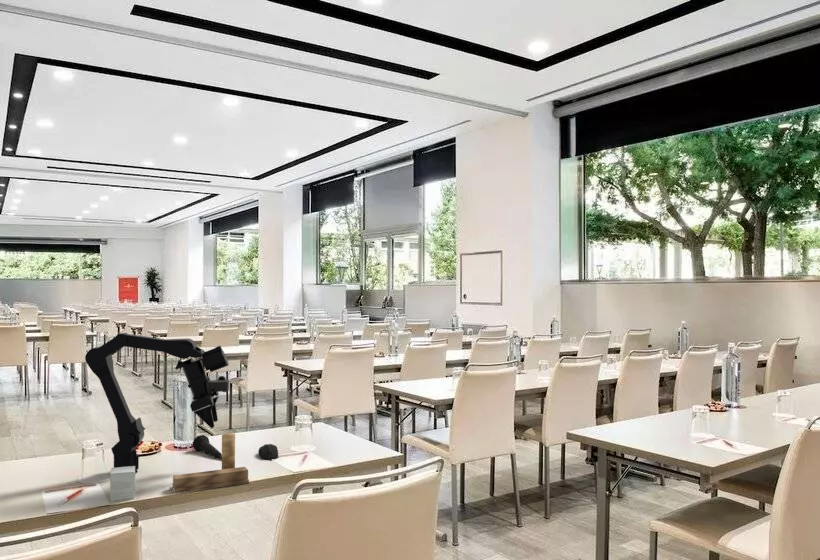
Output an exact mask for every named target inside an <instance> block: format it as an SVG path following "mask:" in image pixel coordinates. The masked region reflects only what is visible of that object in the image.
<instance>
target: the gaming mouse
mask: <svg viewBox="0 0 820 560" xmlns="http://www.w3.org/2000/svg"><path fill="white" fill-rule="evenodd" d="M257 454H258V456H259V458H260V459H261V460H262V461H270V462H272V461H273V460H272V459H274V460H277V459H278V458H279V449H278V446H277V445H274V444H272V443H269V444H267V443H266V444H264V445H261V446H260V447H259V448H258V452H257Z"/></svg>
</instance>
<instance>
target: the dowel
mask: <svg viewBox="0 0 820 560" xmlns="http://www.w3.org/2000/svg"><path fill="white" fill-rule="evenodd" d="M221 454H222V460H221V470H222V469H230V468H236V434H235V433H233V432H232V433H231V432H227V433H223V434H221Z"/></svg>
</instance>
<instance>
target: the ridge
mask: <svg viewBox="0 0 820 560" xmlns="http://www.w3.org/2000/svg"><path fill="white" fill-rule="evenodd" d="M249 483H250V479H249V469H248V468H247V467H246V466H240V467H235V468H230V469H222V468H221V469H216V470H215V469H214V470H207V471H198V472H189V473H182V474H181V473H179V474H173V475H172V488H174V489H173V490H175V491H174V493H175V492H179V493H184V491H186V492H192V491H193V492H194V491H199V490H206V489H207V490H208V489H216V488H221V487H224V488H225V487H230V486H238V485H244V484H245V485H246V484H249Z"/></svg>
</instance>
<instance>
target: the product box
mask: <svg viewBox="0 0 820 560" xmlns="http://www.w3.org/2000/svg"><path fill="white" fill-rule="evenodd" d="M110 469H111V470H110V473H109V479H110V480H109V481H110V483H109V487H110V488H109V489H110V490H109V501H110V502H116V500H117V501H124V500H126V499H127V500H134V499H135V497H136V473H135V466H128V467H117V468H113V467H111V468H110Z"/></svg>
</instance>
